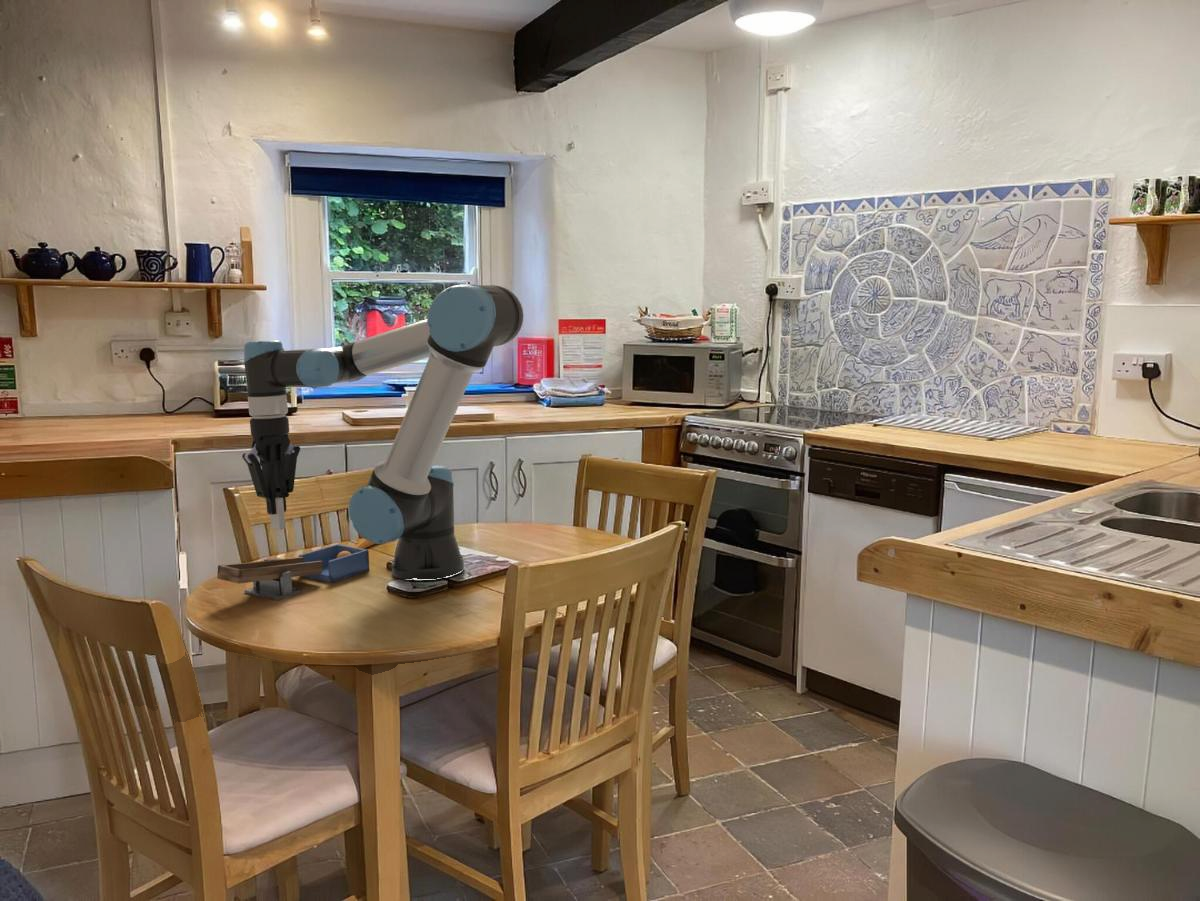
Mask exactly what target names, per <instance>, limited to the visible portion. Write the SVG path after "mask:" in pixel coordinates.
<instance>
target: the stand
mask: <svg viewBox="0 0 1200 901" xmlns="http://www.w3.org/2000/svg"><path fill="white" fill-rule="evenodd" d="M292 584H293V583H292V577H291V572H290V571H287V572H283V573H280V579H272V580H264V581H256V582H252V585H253V587H250V588H249V587H248V588H246V589H244V590H243V591H244V594H247V595H251V596H255V597H259V598H260V597H261V598H264V599H268V600H271V601H276V602H277V601H280V600H284V599H286V598H289V597H292V596H295V595H299V594H301V593H302V589H299V588H296V587H293V585H292Z"/></svg>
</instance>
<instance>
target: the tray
mask: <svg viewBox="0 0 1200 901" xmlns="http://www.w3.org/2000/svg"><path fill="white" fill-rule="evenodd" d="M355 547H356V546H350V545H343V544H340V543H339V544H338V543H337V544H332V545H330V546H326V547H323V548H319V549H318V548H317V549H315V550H312V551H309V552H308V551H307V552H305V553H302V554H298V557H304V563H305V562H314V561H323V565H322V573H321V574H313V575H305V576H302V577H303V578H308V579H313V580H317V581H322V582H326V583H330V584H331V583H334V582H338V581H342V580H343V579H347V578H350V577H354V576H356V575H359V574H362V573H365V572H368V571H370V557H369V554H370V552H369V549H367V548H365V549H361V548H355ZM342 551H348V552H350V553H351V554H350V555H347V556H344V557H340V558H337V555H338V554H339V553H340V552H342Z"/></svg>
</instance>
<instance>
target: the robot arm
mask: <svg viewBox="0 0 1200 901" xmlns="http://www.w3.org/2000/svg"><path fill="white" fill-rule="evenodd" d="M429 305H430V306H429V307H428V308H429V309H428V312H427V316H426V318H425V319H423V320H419V321H416V322H413V323H410V324H408V325H405V326H401V327H398V328H395V329H392V330H389V331H386V332H385V331H384V332H382V333H379V334H375V335H373V336H370V337H366V338H363V339H360V340H357V341H354V342H350V343H346V344H344V345H340V346H333V347H322V348H321V347H319V348H310V349H309V348H308V349H307V348H306V349H289V350H287V349H284V347H283V343H282V341H280V340H278V339H277V340H276V339H273V340H272V339H269V340H250V341H247V342H246V343H245V344H244V346H243V357H244V358H243V360H244V361H243V365H244V370H245V379H246V389H247V403H248V405H247V406H248V413H249V414H248V415H249V416H250V417H251V418H250V419H249V428H250V435H251V437H252V444H251V449H250V450H249V451H248V452H247V453H246V452H245V453H244V452H243V454H242V456H241V457H242V459H243V460H244V462H245V463H246V464H247V468H248V472H249V474H250V479H251V480H252V485H253V488H254V490H255V494H256V497H259V498H262V499H265V501H266V512H267V514H268V515H270V516H269V517H270V519H269V520H270V528H271V530H278V531H281V530H285V529H286V528H287V527H286V519H285V512H287V499H286V498H289V496H290V493H293V491H294V486H295V479H296V471H297V470H296V469H297V462H298V456H299V454H300V451H301V447H300V446H299V445H295V444H292V443H291V440H290V437H289V436H288V435H289V434H290V423H289V417H288V415H287V414H288V413H289V408H288V399H287V398H288V397H287V388H312V389H317V388H318V389H319V388H325V387H326V388H327V387H330V386H332V385H334V384H339V383H352V382H356V381H360V380H362V379H364V378H366V377H367V376H370V375H374V374H377V373H381V372H385V371H387V370H391V369H394V368H398V367H402V366H405V365H409V364H412V363H415V362H418V361H421V360H425V359H428V360H427V362H426V365H425V367H424V369H423V372H422V374H421V376H420V379H419V380H418V383H417V386H416V388H415V389H414V393H413V395H412V397H411V400H410V403H409V406H408V407H407V409H406V412H405V415H404V416H403V419H402V422H401V423H400V426H399V428H398V431H397V433H396V435H395V438H394V440H393V442H392V445H391V447H390V450H389V452H388V455H387V457H386V459H385V460H383V461H380V462H377V463H376V465H375V466H374V468H373V470H372V472H371V473H370V474H371V475H370V477H369V479H368V481H367V484H366V485H365V486H362V487H360V488H358V489H357V490H356V491H355V492H354V493H353V494H352V496H351V497H350V500H349V503H348V514H349V515H348V516H349V520H350V521H351V522H352V526H353V528H354V529H355V531H356V532H357V534H359V535H360V536H361V537H362V538H363V539H366V540H368V541H370V542H372V543H376V544H377V545H378V544H379V545H383V544H387V543H391V542H395V541H397V544H396V548H395V552H394V558H393V559H392V562H391V575H392V577H394V578H396V579H399V580H402V579H412V578H417V579H437V578H442V577H446V576H450V575H453V574H456V573H458V572H460V571H462V570H463V568H464V569H465V566H464V564H465V561H464V557H463V555H462V554H461V552H460V548H459V544H458V542H457V538H456V535H455V513H454V512H455V510H454V509H455V508H454V507H455V506H454V502H455V501H454V481H453V472H452V470H451V468H449V467H447V466H444V465H436V464H435V465H434V463H435V461H436V458H437V456H438V454H439V452H440V449H441V448H442V445H443V442H444V440H445V437H446V435H447V434H448V431H449V428H450V426H451V424H452V422H453V420H454V417H455V414H456V413H457V410H458V408H459V406H460V404H461V401H462V399H463V397H464V394H465V392H466V390H467V388H468V386H469V383H470V381H471V378H472V377H473V374H474V372H476V371H480V370H482V369H484V368H485V367H486V365H487V363H488V361H489V358H490V356H491V353H492V351H493V349H494V348H495V347H499V346H502V345H506V344H508V343H509V342H511V341H512V340H514V339H515V338H516V337H517V336H518V334H519V333H520V331H521V328H523V327H522V326H523V323H524V309H523V306H522V303H521V301H520V300H519V298H518V296H517V295H515V294H514V292H512V291H511V290H509V289H507V288H506V287H503V286H500V285H495V284H494V285H493V284H491V285H488V284H487V285H482V284H481V285H480V284H479V285H478V284H472V283H461V284H458V285H453V286H449V287H447V288H446V289H444V290H442V291H441V292H439V293H438V294H437V295H436V296H435V297H434V299H433V300H432V302H431V304H429Z"/></svg>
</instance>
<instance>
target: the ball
mask: <svg viewBox="0 0 1200 901" xmlns="http://www.w3.org/2000/svg"><path fill="white" fill-rule="evenodd" d="M350 554H351V553H350V552H348V551H342V552H340V553H339V554H338V555H337V558H340V557H344V556H347V555H350Z"/></svg>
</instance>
